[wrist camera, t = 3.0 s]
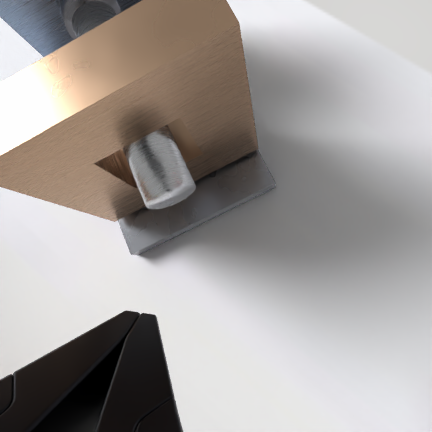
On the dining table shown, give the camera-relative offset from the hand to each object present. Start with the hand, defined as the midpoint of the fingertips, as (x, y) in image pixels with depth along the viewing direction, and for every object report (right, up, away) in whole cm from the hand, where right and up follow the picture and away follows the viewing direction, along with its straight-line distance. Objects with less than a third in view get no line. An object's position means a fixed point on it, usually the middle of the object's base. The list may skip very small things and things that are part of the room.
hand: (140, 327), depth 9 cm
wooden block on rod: (0, +6, +11) cm, 13 cm away
